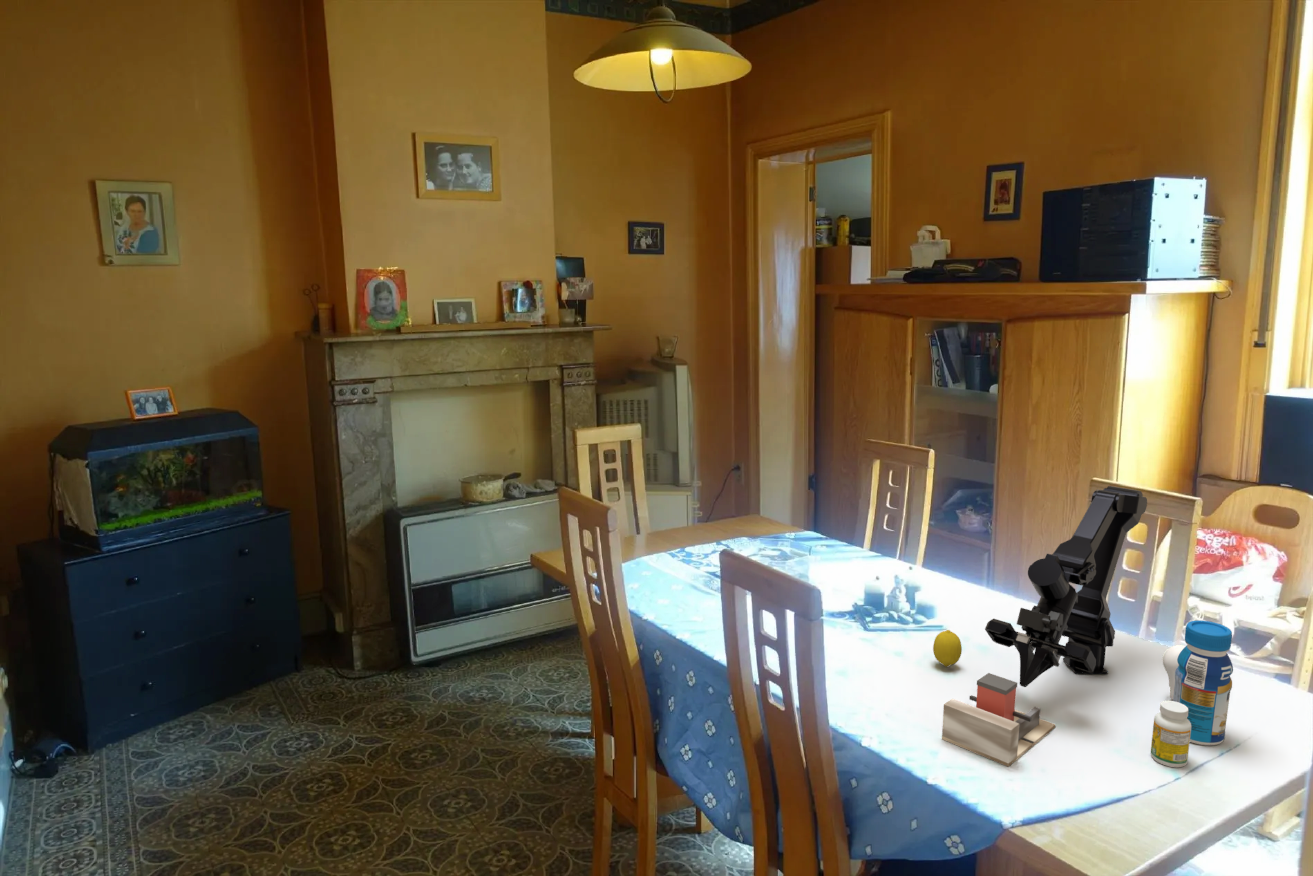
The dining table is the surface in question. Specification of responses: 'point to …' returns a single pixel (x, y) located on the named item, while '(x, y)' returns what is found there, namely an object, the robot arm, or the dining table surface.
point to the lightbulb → (1172, 664)
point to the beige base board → (992, 731)
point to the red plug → (997, 697)
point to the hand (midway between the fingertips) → (1022, 685)
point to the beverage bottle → (1205, 680)
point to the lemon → (947, 648)
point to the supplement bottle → (1171, 734)
